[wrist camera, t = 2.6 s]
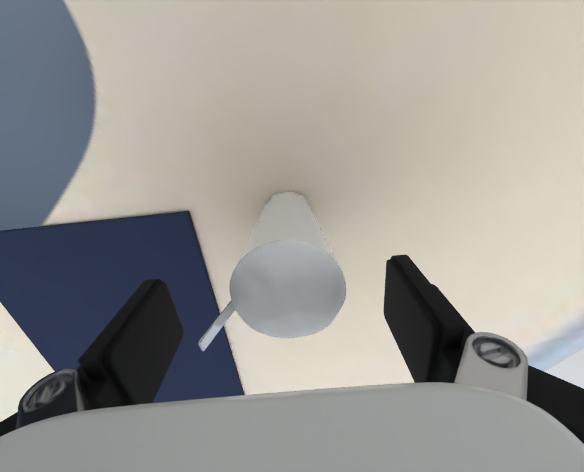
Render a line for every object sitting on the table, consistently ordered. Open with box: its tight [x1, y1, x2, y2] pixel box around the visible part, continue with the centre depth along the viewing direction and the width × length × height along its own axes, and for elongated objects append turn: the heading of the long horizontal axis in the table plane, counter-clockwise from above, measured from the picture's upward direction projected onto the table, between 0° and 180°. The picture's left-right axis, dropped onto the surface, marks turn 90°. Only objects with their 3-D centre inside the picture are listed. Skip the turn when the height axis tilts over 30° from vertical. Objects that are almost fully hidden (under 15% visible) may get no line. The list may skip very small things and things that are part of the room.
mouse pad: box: [0, 211, 244, 403], centre depth 22 cm, size 20×16×1 cm
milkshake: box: [198, 191, 346, 351], centre depth 13 cm, size 4×5×10 cm
